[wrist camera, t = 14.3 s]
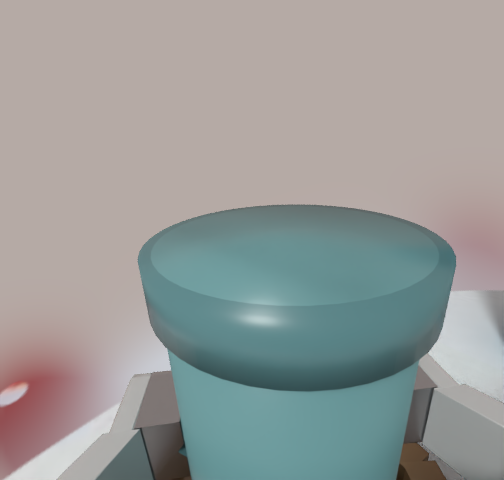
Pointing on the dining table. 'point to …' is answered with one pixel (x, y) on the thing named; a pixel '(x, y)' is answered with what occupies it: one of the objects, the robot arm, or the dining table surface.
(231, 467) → the teal rimmed peg
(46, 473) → the dining table surface
